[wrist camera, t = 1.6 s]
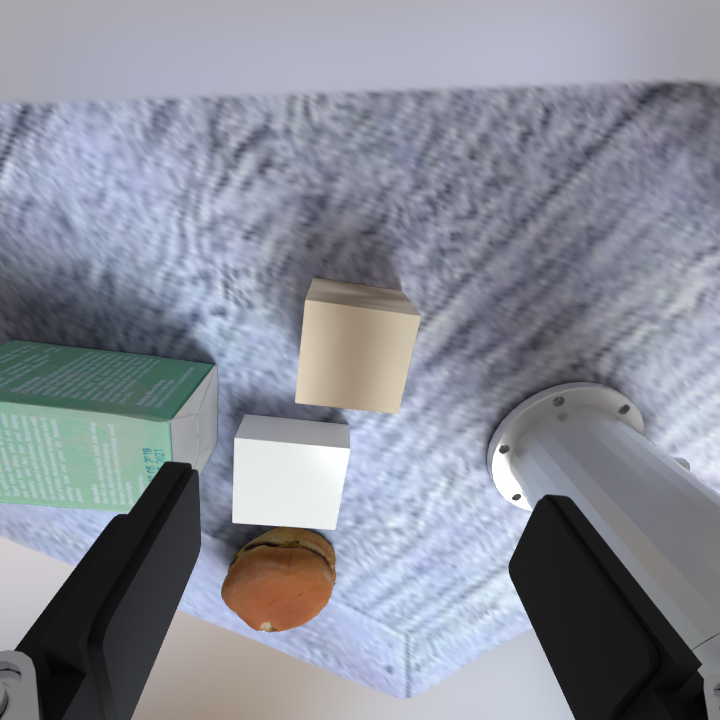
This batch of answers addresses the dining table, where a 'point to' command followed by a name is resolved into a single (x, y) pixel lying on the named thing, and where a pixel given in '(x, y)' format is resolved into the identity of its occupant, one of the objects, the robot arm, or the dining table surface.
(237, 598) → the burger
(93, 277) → the dining table surface
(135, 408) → the box
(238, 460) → the white slab
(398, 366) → the maple block
